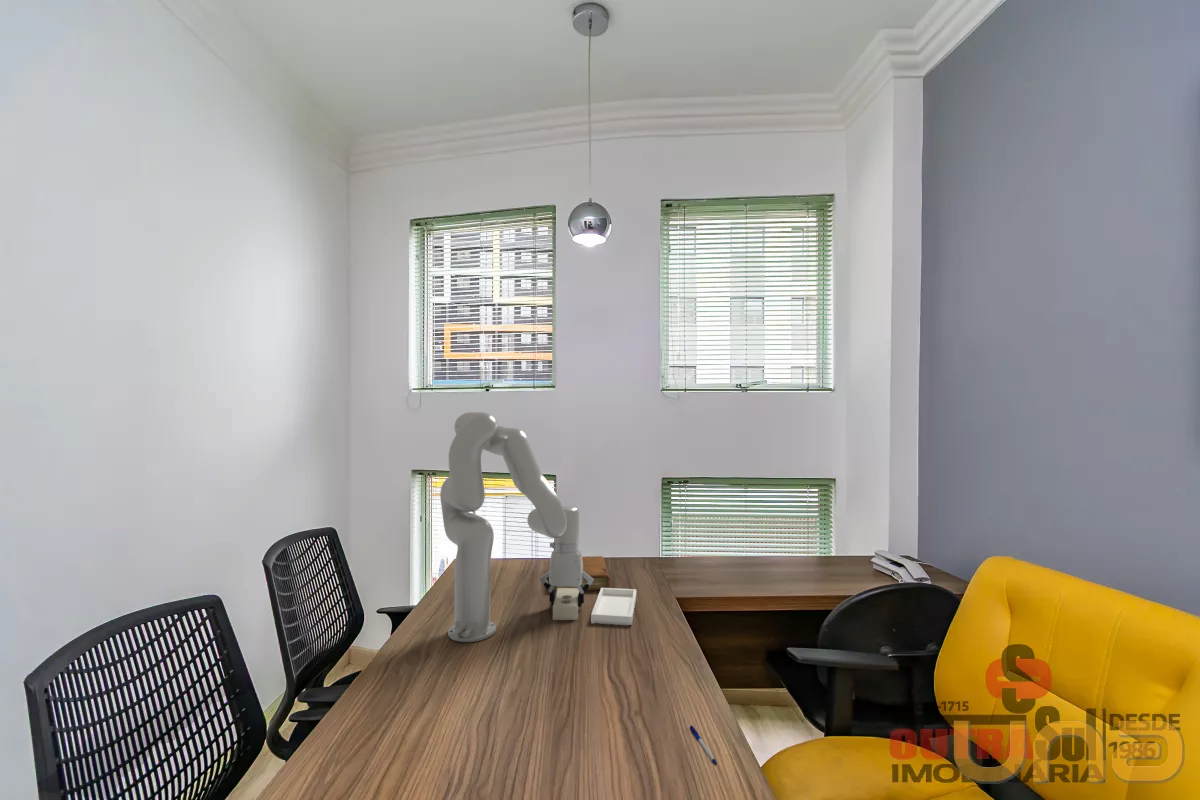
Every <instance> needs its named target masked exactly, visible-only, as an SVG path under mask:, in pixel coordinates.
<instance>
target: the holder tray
mask: <svg viewBox="0 0 1200 800" xmlns="http://www.w3.org/2000/svg"><path fill="white" fill-rule="evenodd" d="M598 592H599V593H598V595H597V598H596V601H595V602H594V606H593V607H592V611H591V615H590V623H591V624H595V623H597V625H612V624H613V626H615V625H616V626H629V625H633V621H634V615H633V614H634V613H635V609H634V608H635V607H636V601H637V589H633V588H632V589H631V588H614V587H613V588H611V587H610V588H601V589H600V591H598ZM598 623H599V624H598Z"/></svg>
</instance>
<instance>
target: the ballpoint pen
mask: <svg viewBox="0 0 1200 800" xmlns="http://www.w3.org/2000/svg"><path fill="white" fill-rule="evenodd" d="M689 729H690V731H691V732H692V734H693V736H694V737H695V739H696V740H697V741H698V743H699V745H700V746H701V747H702V749H703V750H704V752H705V753H706V755H707V756H708V758H709V759H710V760H711V762H712V763H713V764H714V765H717V764H718V763H717V760H716V759H715V756H713V754H712V753H711V751H710V750H709V748H708V747H707V746H706V744H705V742H704V741H703V740H702V738H701V736H700V735H699V733H698V731H697V729H696V728H695V727H694V726H693V725H692V724H691V725H690V726H689Z"/></svg>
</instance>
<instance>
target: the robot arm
mask: <svg viewBox="0 0 1200 800" xmlns="http://www.w3.org/2000/svg"><path fill="white" fill-rule="evenodd" d="M454 432H455V436H454V438H453V440H452V441H451V444H450V446H449V449H448V468H449V469H448V470H449V476H448V477H447V478H445V480H444V481H443V483H442V485H441V487H440V505H441V507H440V508H441V512H442V513H441V514H442V521H443V528H444V531H445V535H446V537H447V538H448V540H449V541H450V542H452V543H453V544H455V545H456V546H457V552H456V556H455V561H454V606H453V607H454V609H453V611H454V613H453V614H454V617H453V618H454V619H453V624H452V625H450V627H449V628H448V630H447V636H448V637H449V639H451V640H452V641H456V642H459V643H460V642H461V643H473V642H479V641H484V640H486V639H488V638H490V637H492V636H493V635H494V634H495V633H496V629H497V627H496V624H495V622H494V621H491V567H492V566H491V564H492V563H491V561H492V551H493V546H494V540H495V539H494V529H493V527H492V525H491V523H490V522H489V521H488V520H487V519H486V518H484V517H483V516H480V515H478V514H476V511H478V510H479V509H481V508H482V506H483V504H484V502H485V498H486V497H485V496H486V495H485V494H486V493H485V487H484V486H485V485H484V479H483V471H482V453H483V451H487V452H489V453H491V454H495V455H497V456H502V457H503V460H504V462H505V464H506V467H507V470H508V472H509V475H510V477H511V480H512V482H513V485H514V486H515V488H517V489H518V491H519V492H520V493H521V494H523V496H525V497H526V498H527V499H528V500H529V501H530V502H531V503H532V505H533V507H534V509H533V510H531V511H530V512H529V513H528V516H527V519H526V520H527V526H528V527H529V529H531V530H532V531H533V532H535V533H538V534H541V535H543V536H545V537H548V538H551V539H554V541H553V542H549V548H552V549H553V550H552V552H551V555H550V560H549V570H548V571H547V572H546V573H544V574H543V575H540V577H539V579H540V582H541V583H542V584H543V586H544V588H545V589H546V590H547V591H548V593H549V603H550V606H552V607H553V604H554V600H555V596H556V593H557V591H556V590H555V586H561V587H577V589H578V590H579V594H578V607H579V608H581V607H582V605H583V604H584V603H585V592H586V590H587V589H588V588H589V586H590V585H591V584H592V582H593V580H594V579H593V578H592V577H591V576H589V575H588V574H587V573H586V572H584V571H583V560H582V557H583V555H582V551H581V550H580V511H579V508H577V507H576V506H574V505H562V502H561V500H560V498H559V496H558V495H557V492H555V490H554V489H553V487H552V486H551V484H550V482H549V481H548V480H547V478H546V477H545V476H544V475H543V473H542V471H541V469H540V466H539V463H538V461H537V458H536V456H535V453H534V450H533V448H532V445H531V442H530V440H529V438H528V435H527V434H526V433H525V432H524V431H523V430H522V429H520V428H519V429H518V428H514V427H504V426H501V425H499V424H497V420H496V418H495V417H494V416H493V415H492V414H489V413H487V412H482V411H481V412H480V411H478V412H477V411H476V412H475V411H474V412H465V413H462V414H460V415H459V416H458V417H457V418H456V420H455V422H454ZM547 578H548V580H547ZM584 578H585V579H586V580H587V581H588V582H587V583H586V584H585V585H584V586H583V584H582V581H583V579H584Z"/></svg>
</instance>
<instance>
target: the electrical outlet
mask: <svg viewBox="0 0 1200 800" xmlns="http://www.w3.org/2000/svg"><path fill="white" fill-rule="evenodd" d="M578 594H579V590H578V589H577V588H558V589H557V591H556V596H555V600H554V604H553V606H552V620H553V621H577V620H578V615H579V608H580V607H578Z"/></svg>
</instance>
